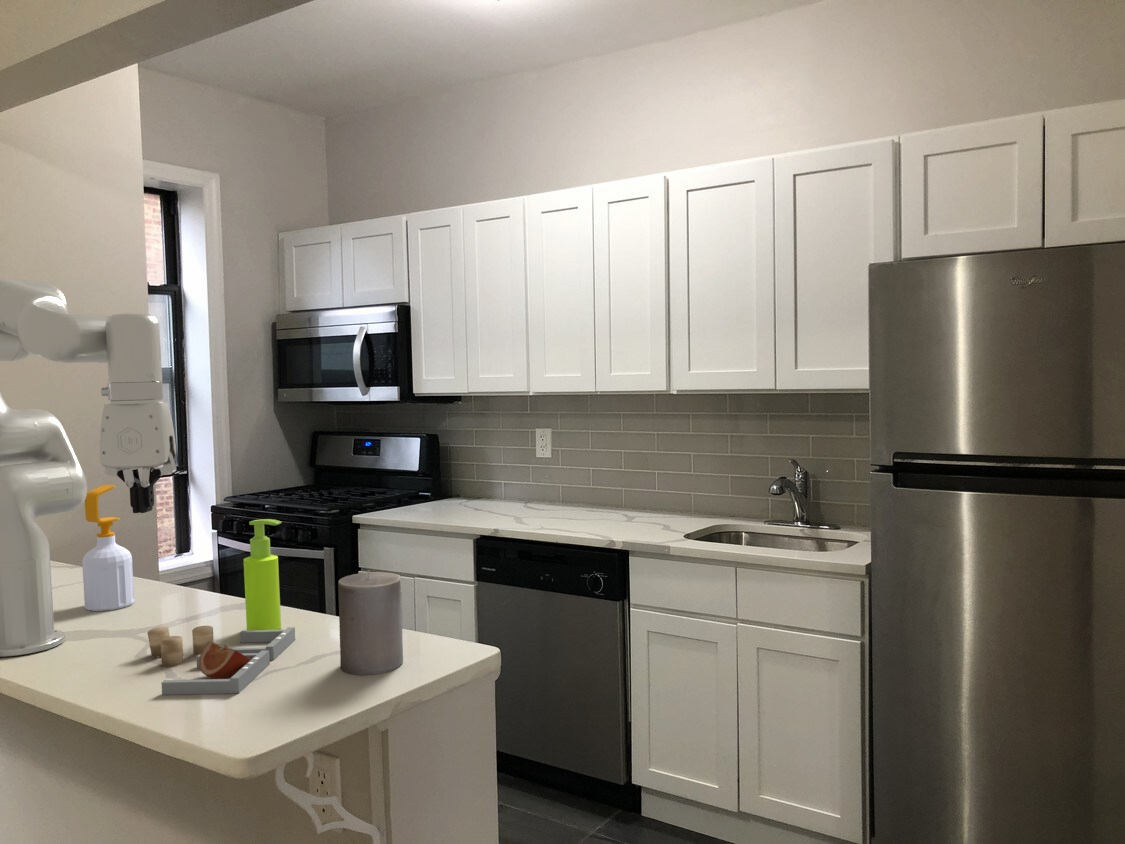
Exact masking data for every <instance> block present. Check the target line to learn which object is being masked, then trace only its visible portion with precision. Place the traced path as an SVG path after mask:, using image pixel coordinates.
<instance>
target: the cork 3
mask: <svg viewBox="0 0 1125 844" xmlns="http://www.w3.org/2000/svg"><path fill="white" fill-rule="evenodd" d="M213 627H214V626H211V625H201V626H195V627H194V628H193V629H192V630H191V632H192V647H193V649H192V651H193V655H194V656H195V657H196V656H198V655H199V654H201V653H202V652H203V650H204V648H205V647H206V646H207V644H208V642H213V643H215V641H214V639H215V638H214V628H213Z"/></svg>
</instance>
